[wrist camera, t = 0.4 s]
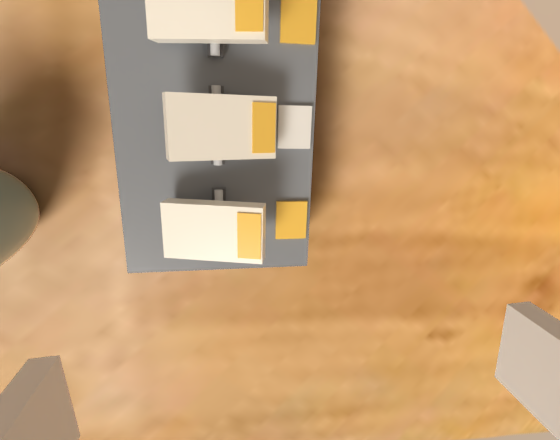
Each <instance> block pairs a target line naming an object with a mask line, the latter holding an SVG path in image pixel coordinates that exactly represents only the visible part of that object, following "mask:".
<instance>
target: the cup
mask: <svg viewBox="0 0 560 440" xmlns="http://www.w3.org/2000/svg"><path fill="white" fill-rule="evenodd" d="M39 218H40V210H39V205H38V202H37V200H36V198H35V196H34V195H33V193H32V192H31V190H30V189H29V188H28V187H27V186H26V185H25V184H24V183H23V182H22V181H20V180H19V179H18V178H17V177H15V176H13V175H12V174H10V173H8V172H6V171H4V170H1V169H0V266H1V265H2V264H4V263H5V262H6V261H8V260H9V259H10V258H11V257H13V256H14V255H15V254H16V253H17V252H18V251H19V250H20V249H21V248H22V247H23V246H24V245H25V244H26V243H27V242H28V241H29V239H30V238H31V236H32V235H33V233H34V232H35V230H36V228H37V225H38V222H39Z"/></svg>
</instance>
